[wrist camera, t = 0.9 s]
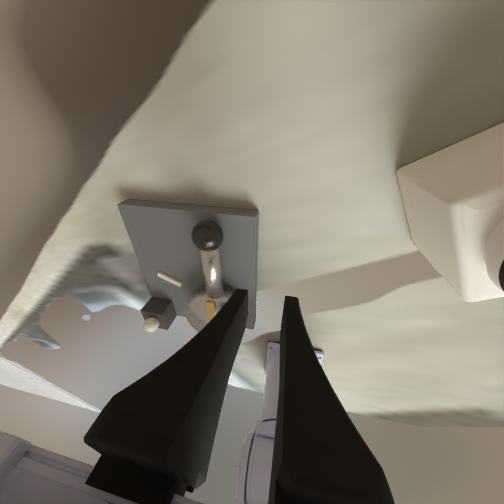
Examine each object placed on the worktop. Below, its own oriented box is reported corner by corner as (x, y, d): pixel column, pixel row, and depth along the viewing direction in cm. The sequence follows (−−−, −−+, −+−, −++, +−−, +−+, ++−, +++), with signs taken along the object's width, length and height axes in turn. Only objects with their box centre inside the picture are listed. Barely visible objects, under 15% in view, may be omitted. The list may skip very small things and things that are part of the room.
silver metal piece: (249, 327, 26) (244, 348, 24) (199, 318, 27) (189, 337, 25) (249, 218, 18) (241, 234, 15) (176, 211, 19) (158, 225, 16)
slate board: (255, 320, 28) (252, 331, 26) (163, 303, 30) (156, 313, 29) (258, 210, 19) (254, 218, 17) (127, 199, 21) (114, 205, 20)
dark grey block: (176, 315, 28) (161, 339, 25) (157, 311, 29) (139, 335, 26) (172, 300, 27) (154, 324, 24) (152, 296, 27) (132, 320, 24)
